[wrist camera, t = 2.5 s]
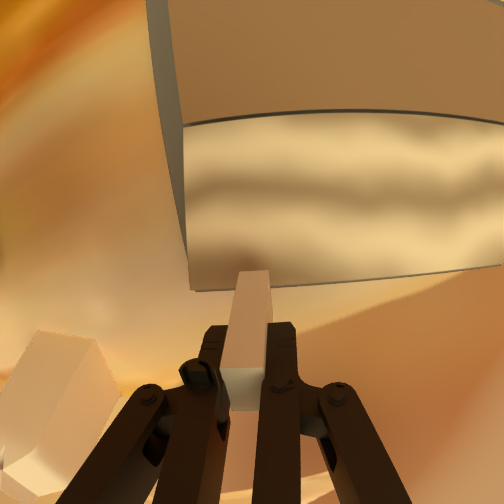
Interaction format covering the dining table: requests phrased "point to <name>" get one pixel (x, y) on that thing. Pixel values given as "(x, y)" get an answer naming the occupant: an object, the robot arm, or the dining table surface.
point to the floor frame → (321, 65)
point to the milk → (52, 413)
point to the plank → (341, 197)
